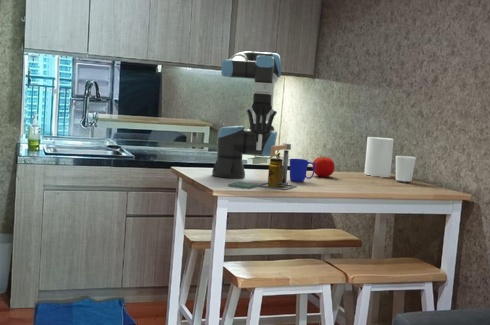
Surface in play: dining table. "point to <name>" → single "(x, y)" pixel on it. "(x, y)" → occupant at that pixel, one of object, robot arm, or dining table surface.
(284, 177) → the post
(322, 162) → the tomato
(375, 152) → the canister
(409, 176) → the cup
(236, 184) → the mat
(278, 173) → the condiment
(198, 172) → the dining table surface
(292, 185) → the frame
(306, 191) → the dining table surface
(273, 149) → the tan bent bar
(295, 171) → the mug
